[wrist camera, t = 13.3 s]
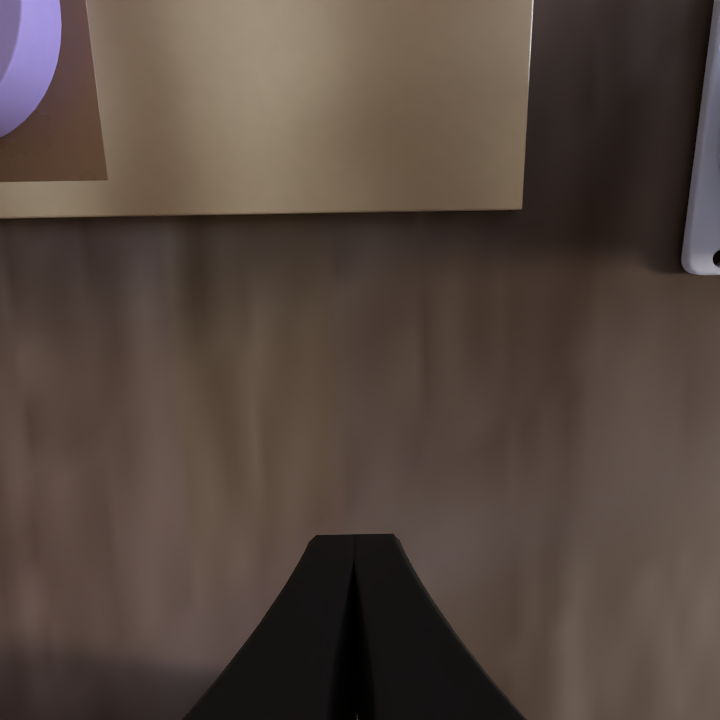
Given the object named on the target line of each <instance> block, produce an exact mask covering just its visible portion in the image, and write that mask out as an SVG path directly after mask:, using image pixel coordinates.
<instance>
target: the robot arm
mask: <svg viewBox="0 0 720 720" xmlns="http://www.w3.org/2000/svg"><path fill="white" fill-rule="evenodd" d="M718 250H719V251H720V0H714V5H713V13H712V21H711V29H710V37H709V44H708V52H707V60H706V68H705V76H704V84H703V92H702V99H701V107H700V115H699V123H698V131H697V139H696V146H695V154H694V162H693V170H692V178H691V186H690V193H689V201H688V209H687V217H686V225H685V233H684V240H683V248H682V256H681V261H682V266H683V268H684V270H686V271H687V272H689V273H691V274H697V275H720V262H719V263H718V264H717V265H715V264H714V263H713V256H714V254H715V253H716V252H717V251H718ZM357 716H358V720H527V719H526V718H525V717H524V716H523V715H522V714H521V713H520V712H519V711H518V710H517V708H516V707H515V706H514V705H513V704H512V703H511V702H510V700H509V699H508V698H507V697H506V696H505V695H504V693H503V692H502V691H501V690H500V689H499V688H498V686H497V685H496V684H495V683H494V682H493V680H492V679H491V678H490V677H489V676H488V674H487V673H486V672H485V671H484V669H483V668H482V667H481V665H480V664H479V663H478V662H477V660H476V659H475V658H474V657H473V655H472V654H471V653H470V652H469V650H468V649H467V648H466V646H465V645H464V644H463V642H462V641H461V640H460V638H459V637H458V636H457V634H456V633H455V631H454V630H453V629H452V627H451V626H450V624H449V623H448V621H447V620H446V619H445V617H444V616H443V614H442V613H441V611H440V610H439V608H438V607H437V605H436V604H435V603H434V601H433V600H432V598H431V597H430V595H429V593H428V592H427V590H426V589H425V587H424V586H423V584H422V582H421V580H420V579H419V577H418V575H417V574H416V572H415V570H414V569H413V567H412V565H411V563H410V561H409V559H408V558H407V556H406V554H405V552H404V549H403V547H402V545H401V543H400V540H399V539H398V538H397V537H396V536H395V535H394V534H352V535H316V536H315V537H314V538H313V539H312V540H311V541H310V542H309V543H308V545H307V548H306V550H305V552H304V554H303V555H302V557H301V559H300V561H299V563H298V565H297V566H296V568H295V570H294V571H293V573H292V575H291V576H290V578H289V580H288V581H287V583H286V584H285V586H284V588H283V589H282V591H281V592H280V594H279V595H278V597H277V598H276V600H275V601H274V603H273V604H272V606H271V607H270V609H269V610H268V612H267V613H266V615H265V616H264V618H263V619H262V621H261V622H260V623H259V625H258V626H257V628H256V629H255V630H254V632H253V633H252V634H251V636H250V637H249V638H248V640H247V641H246V642H245V643H244V645H243V646H242V647H241V649H240V650H239V651H238V653H237V654H236V655H235V656H234V658H233V659H232V660H231V662H230V663H229V664H228V666H227V667H226V668H225V669H224V671H223V672H222V673H221V675H220V676H219V677H218V678H217V679H216V681H215V682H214V683H213V684H212V685H211V687H210V688H209V689H208V690H207V691H206V693H205V694H204V695H203V696H202V697H201V698H200V700H199V701H198V702H197V703H196V704H195V705H194V707H193V708H192V709H191V710H190V711H189V712H188V713H187V714H186V716H185V717H184V718H183V719H182V720H356V718H357Z"/></svg>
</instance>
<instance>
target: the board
mask: <svg viewBox="0 0 720 720" xmlns="http://www.w3.org/2000/svg"><path fill="white" fill-rule="evenodd" d="M59 1H60V7H61V22H62V30H61V46H60V52H59V57H58V63H57V66H56V69H55V72H54V75H53V78H52V81H51V83H50V85H49V87H48V89H47V91H46V94H45V95H44V97H43V98H42V100H41V101H40V103H39V104H38V106H37V107H36V109H35V110H34V111H33V112H32V113H31V114H30V115H29V117H28V118H27V119H26V120H25V121H24V122H23V123H21V124H20V125H19V126H18V127H16V128H15V129H14V130H13V131H11V132H9V133H8V134H6V135H4V136H3V137H1V138H0V219H5V218H64V217H124V216H183V215H242V214H301V213H361V212H420V211H479V210H520V209H522V201H523V183H524V165H525V147H526V129H527V110H528V92H529V74H530V56H531V38H532V20H533V2H534V0H59Z"/></svg>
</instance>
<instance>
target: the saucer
mask: <svg viewBox="0 0 720 720" xmlns="http://www.w3.org/2000/svg"><path fill="white" fill-rule="evenodd" d="M61 30H62V22H61V7H60V1H59V0H0V138H1V137H3V136H4V135H6V134H8V133H9V132H11V131H13V130H14V129H15V128H16V127H18V126H19V125H20V124H21V123H23V122H24V121H25V120H26V119H27V118H28V117H29V115H30V114H31V113H32V112H33V111H34V110H35V109H36V107H37V106H38V104H39V103H40V101H41V100H42V98H43V97H44V95H45V94H46V91H47V89H48V87H49V85H50V83H51V81H52V78H53V75H54V72H55V69H56V66H57V63H58V57H59V52H60V46H61Z"/></svg>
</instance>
